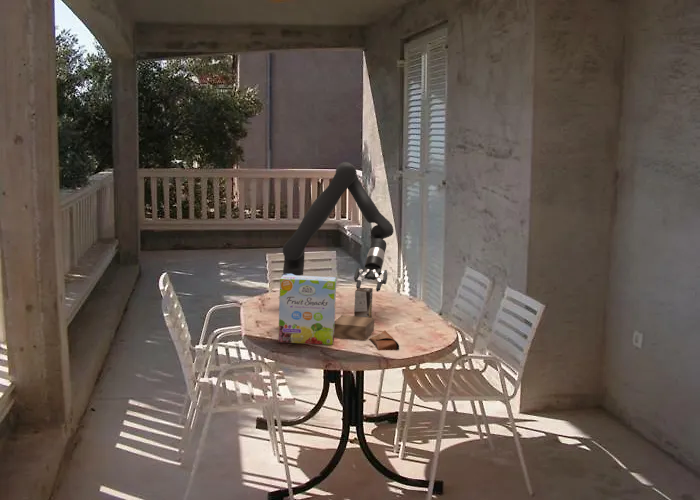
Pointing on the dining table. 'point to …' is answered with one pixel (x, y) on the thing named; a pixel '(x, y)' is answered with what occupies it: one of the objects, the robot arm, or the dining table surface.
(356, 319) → the walnut block
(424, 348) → the dining table surface
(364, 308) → the coffee box
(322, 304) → the snack box
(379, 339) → the sunglasses case
